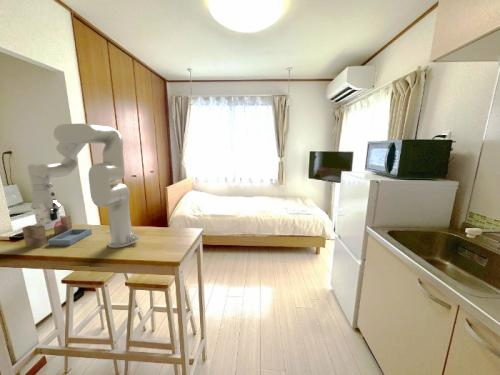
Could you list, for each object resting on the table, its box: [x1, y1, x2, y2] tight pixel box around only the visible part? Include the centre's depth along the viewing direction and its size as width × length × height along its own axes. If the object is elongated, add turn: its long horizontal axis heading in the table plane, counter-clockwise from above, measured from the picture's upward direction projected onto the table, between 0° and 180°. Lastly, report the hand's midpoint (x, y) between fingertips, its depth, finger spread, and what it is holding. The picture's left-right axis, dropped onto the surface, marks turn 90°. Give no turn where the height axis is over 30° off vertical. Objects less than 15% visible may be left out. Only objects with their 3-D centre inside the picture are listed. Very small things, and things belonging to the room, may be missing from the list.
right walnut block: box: [53, 215, 73, 235], centre depth 122 cm, size 8×3×10 cm, turn 90°
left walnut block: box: [22, 225, 48, 248], centre depth 107 cm, size 8×3×10 cm, turn 90°
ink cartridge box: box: [32, 203, 62, 232], centre depth 113 cm, size 9×5×15 cm, turn 169°
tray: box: [47, 228, 93, 247], centre depth 114 cm, size 11×15×3 cm
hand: (48, 219), depth 113 cm, fingers closed on ink cartridge box, 5 cm apart
